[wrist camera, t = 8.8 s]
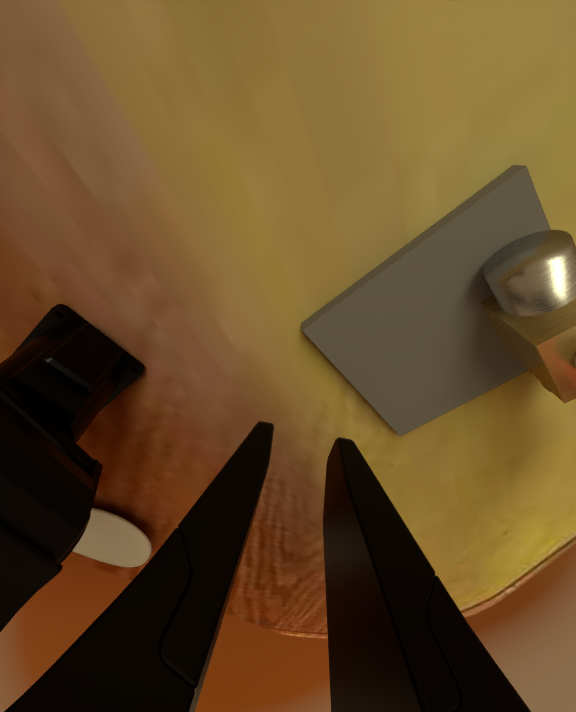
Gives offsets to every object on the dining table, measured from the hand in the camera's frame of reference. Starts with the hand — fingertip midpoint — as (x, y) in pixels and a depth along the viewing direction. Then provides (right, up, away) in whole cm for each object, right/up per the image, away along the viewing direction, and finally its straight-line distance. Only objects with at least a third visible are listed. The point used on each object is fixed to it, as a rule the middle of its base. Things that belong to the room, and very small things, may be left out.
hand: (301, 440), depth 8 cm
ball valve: (+14, +6, +11) cm, 19 cm away
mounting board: (+10, +4, +12) cm, 16 cm away
